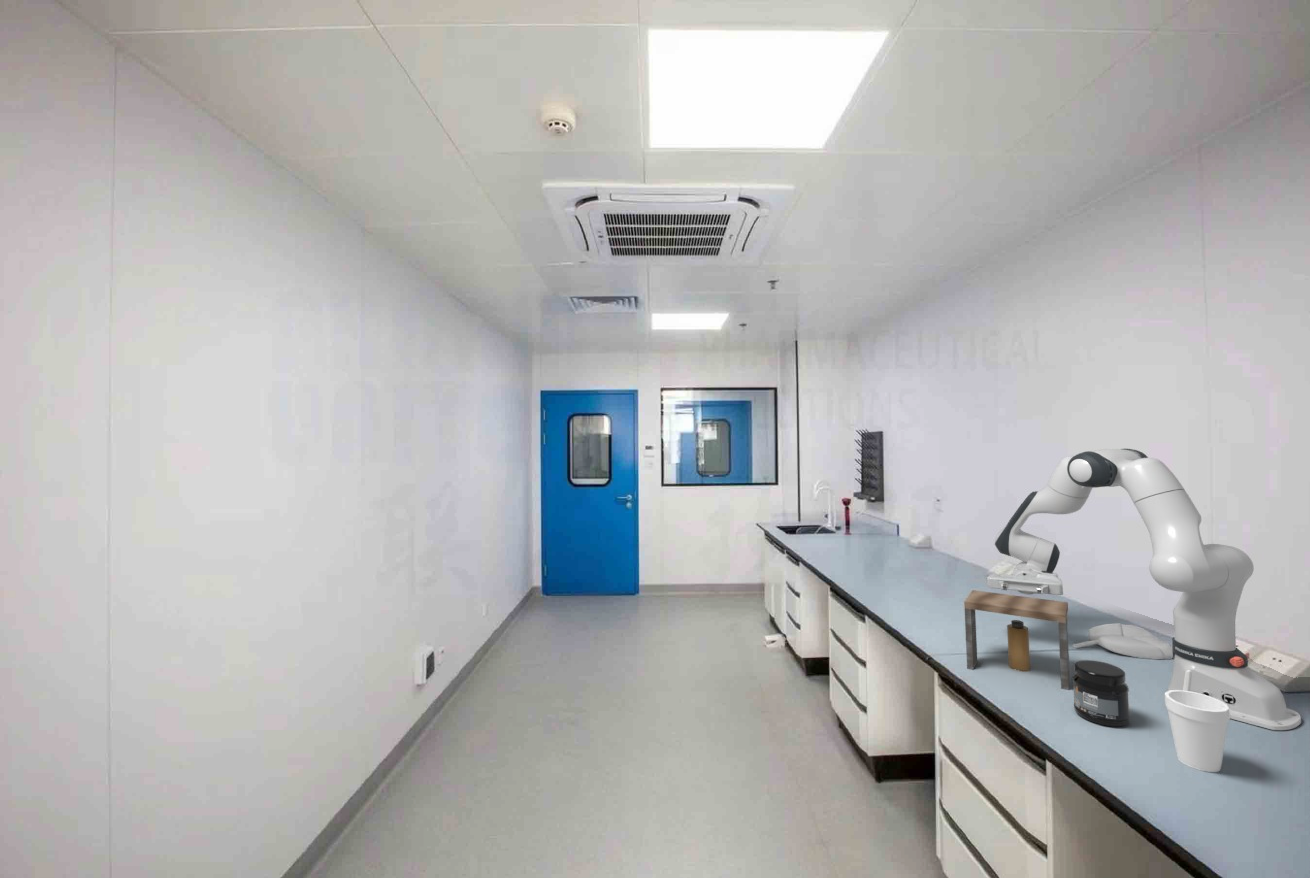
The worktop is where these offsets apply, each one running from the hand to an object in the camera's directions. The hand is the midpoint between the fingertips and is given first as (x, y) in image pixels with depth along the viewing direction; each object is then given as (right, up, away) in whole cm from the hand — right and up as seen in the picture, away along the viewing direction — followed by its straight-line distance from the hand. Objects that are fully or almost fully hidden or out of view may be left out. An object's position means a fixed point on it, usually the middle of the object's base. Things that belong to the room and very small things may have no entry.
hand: (1021, 589), depth 168 cm
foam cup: (-2, -20, -56) cm, 60 cm away
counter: (-8, -21, -11) cm, 25 cm away
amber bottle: (-7, -21, -9) cm, 24 cm away
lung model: (+31, -20, +1) cm, 37 cm away
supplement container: (-6, -21, -38) cm, 43 cm away
